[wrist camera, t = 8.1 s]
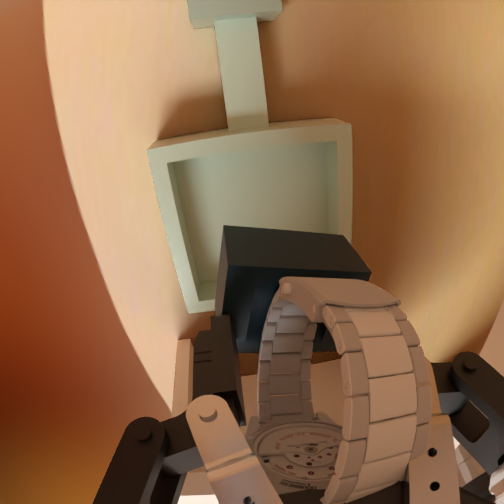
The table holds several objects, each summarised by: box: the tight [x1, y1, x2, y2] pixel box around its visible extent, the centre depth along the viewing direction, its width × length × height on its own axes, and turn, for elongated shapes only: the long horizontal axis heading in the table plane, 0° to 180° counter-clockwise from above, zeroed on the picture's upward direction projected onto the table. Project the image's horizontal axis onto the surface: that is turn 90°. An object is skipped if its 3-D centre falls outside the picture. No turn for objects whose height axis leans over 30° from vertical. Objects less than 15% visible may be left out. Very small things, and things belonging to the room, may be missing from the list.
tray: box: [147, 0, 353, 314], centre depth 19 cm, size 22×12×3 cm, turn 6°
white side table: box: [172, 339, 460, 504], centre depth 22 cm, size 14×17×17 cm
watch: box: [215, 225, 432, 504], centre depth 11 cm, size 6×8×11 cm
